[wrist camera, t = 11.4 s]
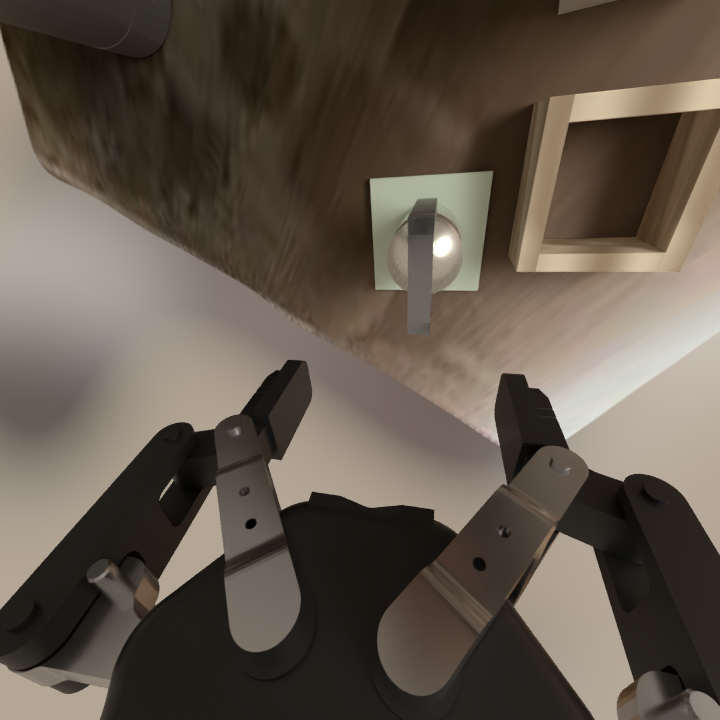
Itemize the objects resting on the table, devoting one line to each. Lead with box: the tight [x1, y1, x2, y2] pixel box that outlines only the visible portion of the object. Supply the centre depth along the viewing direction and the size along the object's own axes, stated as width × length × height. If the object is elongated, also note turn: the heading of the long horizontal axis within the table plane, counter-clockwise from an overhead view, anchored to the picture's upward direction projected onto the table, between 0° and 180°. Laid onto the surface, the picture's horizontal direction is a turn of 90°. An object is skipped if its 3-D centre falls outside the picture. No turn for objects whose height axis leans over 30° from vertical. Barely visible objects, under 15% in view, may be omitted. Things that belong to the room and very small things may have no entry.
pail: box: [387, 198, 463, 335], centre depth 27 cm, size 6×8×13 cm
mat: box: [370, 171, 493, 291], centre depth 33 cm, size 11×11×1 cm
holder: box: [508, 79, 720, 272], centre depth 26 cm, size 12×12×5 cm
